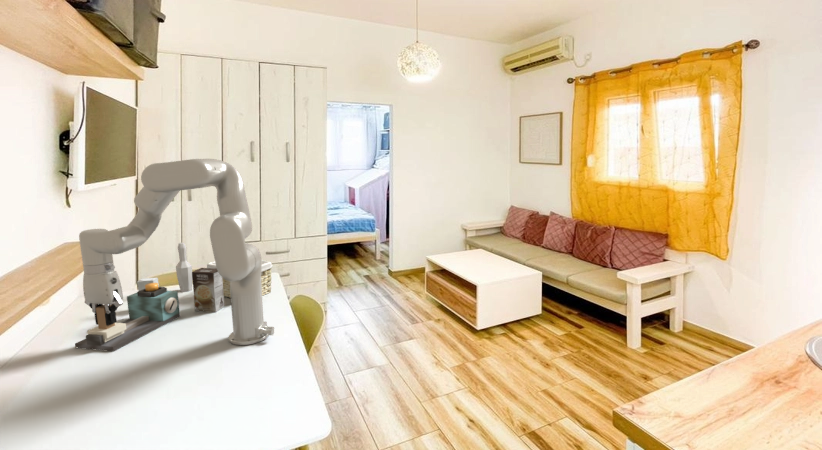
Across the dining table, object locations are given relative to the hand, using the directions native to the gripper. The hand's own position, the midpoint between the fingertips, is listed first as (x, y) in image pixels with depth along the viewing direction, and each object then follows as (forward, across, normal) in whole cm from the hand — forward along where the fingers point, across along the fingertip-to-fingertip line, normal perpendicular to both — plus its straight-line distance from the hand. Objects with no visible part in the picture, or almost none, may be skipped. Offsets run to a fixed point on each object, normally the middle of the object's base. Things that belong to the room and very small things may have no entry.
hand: (106, 322), depth 128 cm
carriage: (+5, 0, 0) cm, 5 cm away
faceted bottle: (+7, +13, -51) cm, 53 cm away
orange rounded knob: (-5, 0, -19) cm, 20 cm away
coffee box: (+7, -13, -32) cm, 35 cm away
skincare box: (+7, +11, -29) cm, 32 cm away
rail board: (+7, 0, -9) cm, 11 cm away
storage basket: (+7, -15, -51) cm, 53 cm away
